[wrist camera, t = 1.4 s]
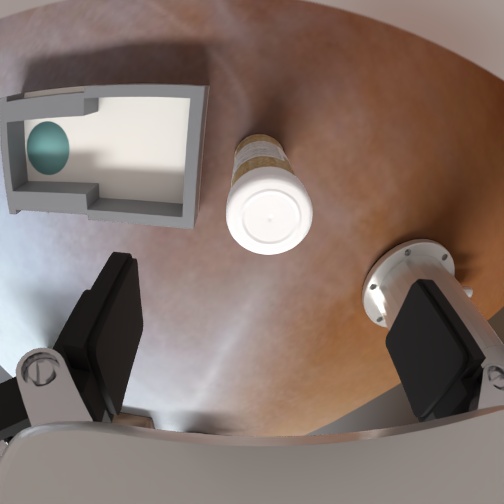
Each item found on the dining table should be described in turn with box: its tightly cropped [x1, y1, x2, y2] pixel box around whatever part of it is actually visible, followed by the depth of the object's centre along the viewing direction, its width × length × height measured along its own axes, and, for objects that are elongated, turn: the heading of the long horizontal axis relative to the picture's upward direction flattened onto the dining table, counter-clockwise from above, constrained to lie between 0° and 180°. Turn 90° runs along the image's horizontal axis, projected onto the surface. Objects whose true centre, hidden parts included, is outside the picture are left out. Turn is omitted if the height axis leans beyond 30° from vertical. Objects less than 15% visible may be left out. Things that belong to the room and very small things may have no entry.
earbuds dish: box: [102, 413, 154, 429], centre depth 51 cm, size 15×13×3 cm
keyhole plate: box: [0, 84, 210, 229], centre depth 25 cm, size 20×12×4 cm, turn 83°
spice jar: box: [226, 134, 313, 254], centre depth 22 cm, size 5×5×13 cm
